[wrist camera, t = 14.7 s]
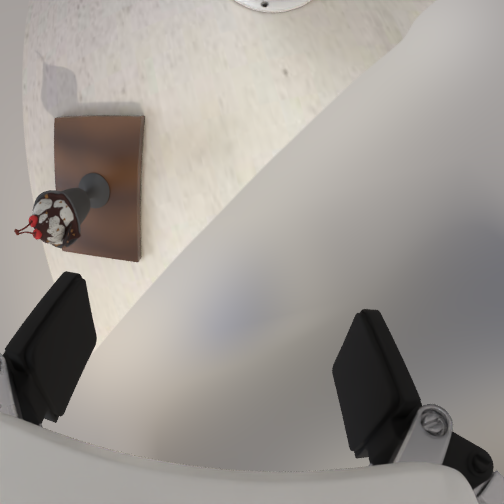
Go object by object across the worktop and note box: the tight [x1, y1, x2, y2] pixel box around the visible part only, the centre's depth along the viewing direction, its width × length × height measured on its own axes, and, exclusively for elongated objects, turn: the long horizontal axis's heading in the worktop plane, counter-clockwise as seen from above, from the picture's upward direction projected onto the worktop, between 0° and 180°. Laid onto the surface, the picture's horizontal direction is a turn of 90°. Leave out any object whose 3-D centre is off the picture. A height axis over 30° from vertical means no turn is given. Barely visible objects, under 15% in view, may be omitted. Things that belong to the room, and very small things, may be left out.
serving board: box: [54, 115, 145, 262], centre depth 38 cm, size 20×13×2 cm, turn 172°
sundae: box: [15, 173, 110, 250], centre depth 30 cm, size 7×7×15 cm
